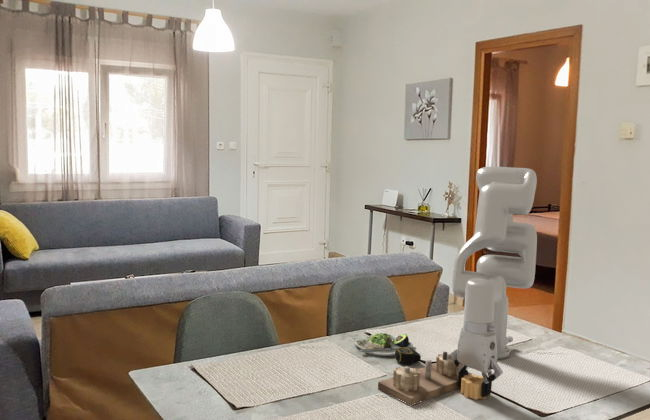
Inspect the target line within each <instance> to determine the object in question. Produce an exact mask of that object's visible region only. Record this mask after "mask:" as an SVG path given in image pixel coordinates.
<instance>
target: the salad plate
mask: <svg viewBox="0 0 650 420" xmlns="http://www.w3.org/2000/svg"><path fill="white" fill-rule="evenodd" d="M392 340H393V341H392ZM368 343H369V347H366V344H368ZM354 345H355V346H356V347H357V348H358V349H359V351H360V353H364V354H369V355H373V356H380V357H395V351H396V350H397V349H398V348H401V347H405V348H407V347H411V348H412V349H413V350H414V351H415V350H416V349H417V347H415V346H414V345H413V343H412V342H410V338H409V337H408V334H405V333H403V334H399V335H397V336H396V335H394V334H391V333H385V332H383V333H381V332H380V333H378V332H377V333H375V334H371V335H368V336H364V337H359V338H357V339H355V341H354Z"/></svg>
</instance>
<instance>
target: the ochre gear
mask: <svg viewBox="0 0 650 420" xmlns="http://www.w3.org/2000/svg"><path fill="white" fill-rule="evenodd" d="M482 382H484V379H483V376H482V375H476V374H474V373H472V375H464V378H462V381H461V387H460V394H462V395H464V397H465V398H466V399H467V398H468V399H469V398H470V399H473V400H481V399H483V400H485V399H487V396H486V397H482V396H481V390H482Z"/></svg>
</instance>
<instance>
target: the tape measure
mask: <svg viewBox="0 0 650 420" xmlns="http://www.w3.org/2000/svg"><path fill="white" fill-rule="evenodd" d="M394 358H395V360H396V361H397V362H399V363H400V364H404V365H405V364H406V365H412V364H415V363H420V362H421V358H422V356H421V354H420V353H419V352H417V351H416V350H415V349H414V350H413V349H412V348H411V347H407V348H405V347H401V348H398V349H397V350H396V351H395V355H394Z"/></svg>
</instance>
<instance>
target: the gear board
mask: <svg viewBox="0 0 650 420" xmlns="http://www.w3.org/2000/svg"><path fill="white" fill-rule="evenodd" d="M435 357H436V359H435V362H436V363H433V364H432V362H433V361H432V360H431V359H426V360H425V366H424V367H421V368H415V367H413V368H412V367H410V366H407V365H405V366H404V367H403V366H402V367H400V366H397V367H395V369H393V375H392V376H393V377H390V378H387V379H384V380H380V381H378V382H377V390H379V391H381V392H382V393H384V394H387V395H388V394H389V396H390V395H391V396H390V397H392V396H393V397H392V398H394V397H395V398H394V399H396V398H398V399H400V400H402V401H404V402H406V403H407V404H406V403H405V404H406V405H408V404H409V405H408V406H410V405H412V404H414V403H417V404H419V403H418V402H420V401H422V402H425V401H427V399H428V400H430V399H432V398H436V397H438V396H440V395H443V394H446V393H449V392H451V391H455V390H457V389H459V388H460V389H461V387H459V386H458V376H459V372H458V371H457V367H456V365H455V363H454V360H453V358H452V356H451V353H448V352H447V351H442V353H439V354H438V356H435ZM472 374H473V373H472V372H470V371H468V375H472ZM398 399H397V400H398ZM400 400H399V401H400ZM424 400H425V401H424ZM402 401H401V402H402ZM404 402H403V403H404ZM420 403H421V402H420ZM414 405H415V404H414ZM412 406H413V405H412Z"/></svg>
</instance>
